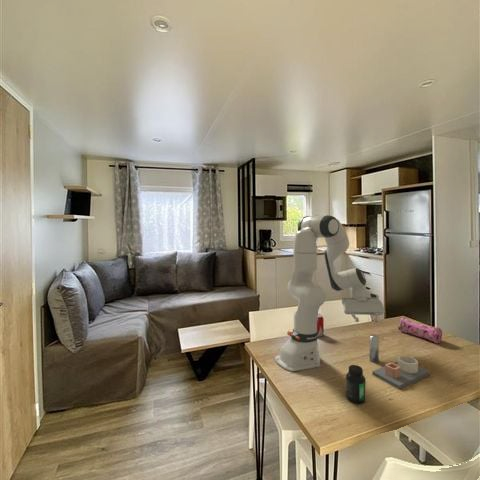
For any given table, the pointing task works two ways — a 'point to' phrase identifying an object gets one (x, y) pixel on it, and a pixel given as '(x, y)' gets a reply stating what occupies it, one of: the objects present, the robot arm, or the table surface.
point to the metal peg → (374, 348)
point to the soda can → (320, 325)
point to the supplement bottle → (355, 385)
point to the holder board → (401, 372)
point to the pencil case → (421, 330)
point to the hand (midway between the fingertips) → (366, 321)
